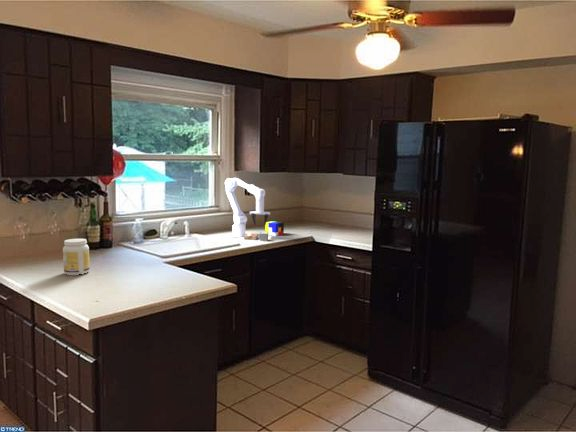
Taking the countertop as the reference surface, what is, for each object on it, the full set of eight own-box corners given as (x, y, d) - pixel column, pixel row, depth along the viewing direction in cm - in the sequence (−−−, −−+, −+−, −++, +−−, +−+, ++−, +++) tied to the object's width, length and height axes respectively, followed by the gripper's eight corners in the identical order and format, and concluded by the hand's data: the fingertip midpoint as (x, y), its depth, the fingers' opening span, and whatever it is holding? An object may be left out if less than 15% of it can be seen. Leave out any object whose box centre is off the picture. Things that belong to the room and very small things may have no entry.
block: (259, 240, 330) (259, 233, 330) (261, 239, 335) (261, 232, 335) (266, 240, 330) (266, 233, 329) (268, 239, 334) (268, 232, 334)
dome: (246, 239, 336) (246, 233, 336) (248, 238, 341) (248, 232, 341) (253, 239, 336) (253, 233, 335) (255, 238, 341) (255, 232, 340)
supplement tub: (83, 268, 247) (81, 237, 245) (94, 272, 239) (93, 240, 237) (59, 273, 238) (57, 240, 236) (70, 277, 230) (68, 243, 228)
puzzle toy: (275, 237, 350) (275, 223, 349) (265, 235, 356) (265, 222, 355) (283, 235, 358) (283, 222, 357) (273, 233, 364) (273, 221, 363)
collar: (244, 240, 335) (244, 235, 335) (246, 238, 343) (246, 234, 343) (255, 240, 334) (255, 236, 334) (257, 238, 342) (257, 234, 341)
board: (257, 241, 329) (257, 240, 329) (263, 237, 349) (263, 236, 349) (268, 242, 328) (268, 241, 328) (273, 237, 348) (273, 236, 348)
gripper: (248, 206, 337) (248, 224, 338) (268, 206, 335) (268, 225, 336) (251, 205, 344) (251, 223, 345) (270, 205, 342) (270, 224, 343)
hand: (259, 224), depth 341 cm, fingers open, 7 cm apart
